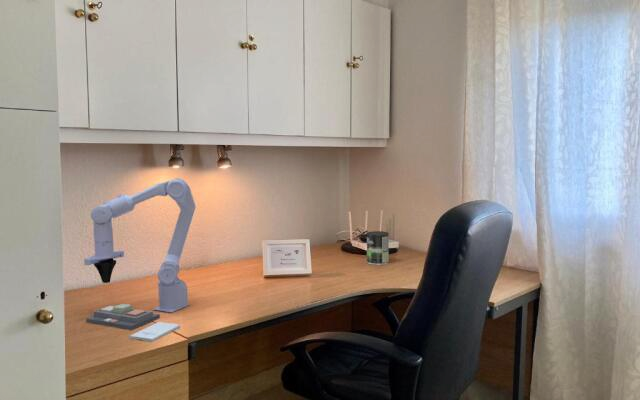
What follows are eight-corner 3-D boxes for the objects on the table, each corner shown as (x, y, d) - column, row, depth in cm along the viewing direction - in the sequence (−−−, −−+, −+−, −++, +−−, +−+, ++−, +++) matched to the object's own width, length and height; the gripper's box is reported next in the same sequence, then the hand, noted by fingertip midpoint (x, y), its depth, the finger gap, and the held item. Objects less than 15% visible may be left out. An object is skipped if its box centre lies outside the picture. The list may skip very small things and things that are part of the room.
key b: (123, 309, 167) (122, 303, 166) (132, 311, 165) (132, 304, 165) (113, 313, 163) (112, 307, 163) (122, 314, 161) (122, 308, 161)
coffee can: (372, 265, 235) (371, 235, 234) (363, 261, 245) (363, 232, 244) (392, 264, 238) (392, 233, 237) (383, 259, 248) (383, 230, 247)
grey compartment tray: (116, 311, 174) (115, 303, 173) (159, 318, 166) (159, 309, 165) (86, 322, 163) (85, 313, 163) (131, 330, 155) (130, 320, 155)
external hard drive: (180, 329, 156) (152, 344, 145) (158, 326, 159) (129, 340, 148) (179, 324, 156) (151, 338, 144) (157, 321, 159) (128, 335, 147)
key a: (110, 311, 169) (110, 305, 169) (119, 313, 167) (119, 307, 167) (100, 315, 166) (100, 309, 165) (110, 316, 164) (109, 310, 164)
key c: (136, 315, 164) (135, 309, 164) (145, 317, 163) (145, 310, 163) (126, 319, 161) (126, 313, 161) (136, 320, 159) (135, 314, 159)
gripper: (112, 237, 178) (114, 276, 179) (76, 244, 165) (79, 286, 166) (127, 238, 175) (129, 278, 176) (92, 246, 162) (94, 288, 163)
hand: (106, 282), depth 171 cm, fingers closed
